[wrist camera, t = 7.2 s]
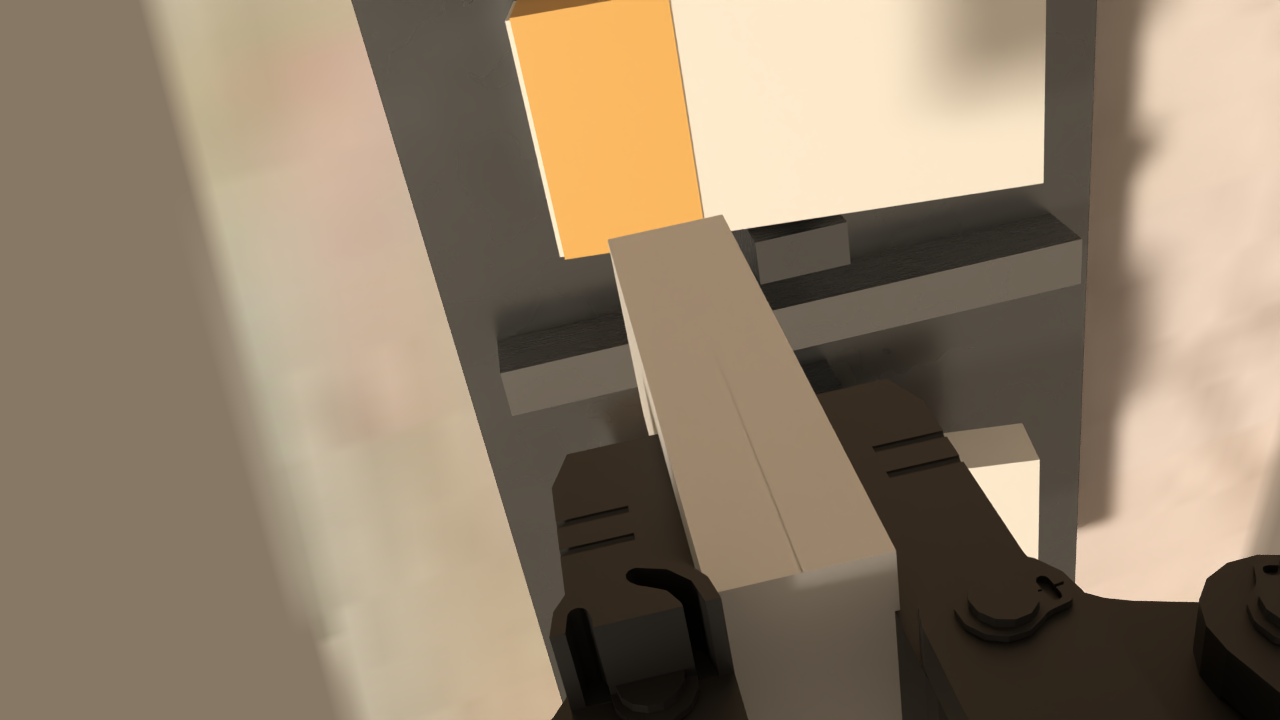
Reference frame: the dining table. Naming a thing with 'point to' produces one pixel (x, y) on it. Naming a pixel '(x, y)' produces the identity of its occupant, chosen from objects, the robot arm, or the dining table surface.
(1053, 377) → the breaker box
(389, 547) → the dining table surface
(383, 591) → the dining table surface
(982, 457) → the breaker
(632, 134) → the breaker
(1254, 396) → the dining table surface
